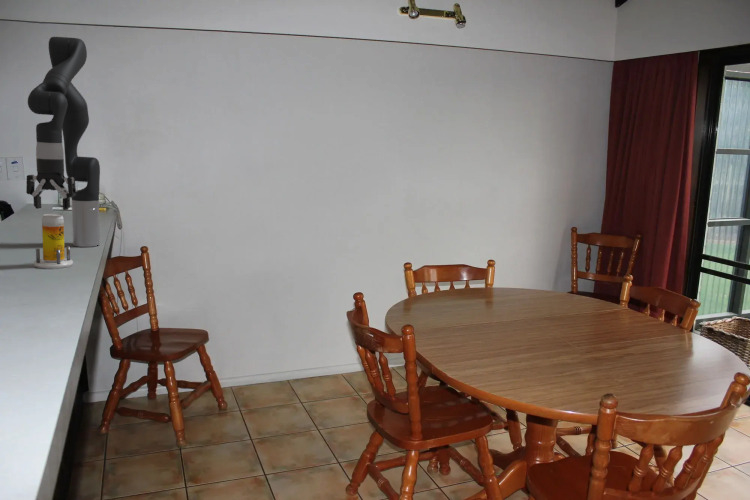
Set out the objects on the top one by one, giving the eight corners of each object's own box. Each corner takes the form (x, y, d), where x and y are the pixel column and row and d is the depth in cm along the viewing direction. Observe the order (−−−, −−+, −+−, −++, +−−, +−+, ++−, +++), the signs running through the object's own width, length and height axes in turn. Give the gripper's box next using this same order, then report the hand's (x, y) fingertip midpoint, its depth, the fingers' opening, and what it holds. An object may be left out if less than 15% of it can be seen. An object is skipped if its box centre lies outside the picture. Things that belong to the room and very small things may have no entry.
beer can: (58, 263, 188) (56, 216, 186) (39, 262, 188) (37, 215, 186) (68, 260, 194) (67, 214, 192) (50, 258, 194) (48, 213, 192)
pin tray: (45, 260, 197) (44, 243, 196) (79, 262, 197) (78, 245, 196) (26, 267, 186) (26, 249, 185) (62, 269, 186) (61, 251, 185)
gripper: (78, 158, 189) (80, 209, 192) (33, 155, 189) (35, 206, 192) (67, 159, 182) (69, 212, 185) (20, 156, 181) (22, 209, 184)
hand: (52, 209), depth 188 cm, fingers open, 8 cm apart
